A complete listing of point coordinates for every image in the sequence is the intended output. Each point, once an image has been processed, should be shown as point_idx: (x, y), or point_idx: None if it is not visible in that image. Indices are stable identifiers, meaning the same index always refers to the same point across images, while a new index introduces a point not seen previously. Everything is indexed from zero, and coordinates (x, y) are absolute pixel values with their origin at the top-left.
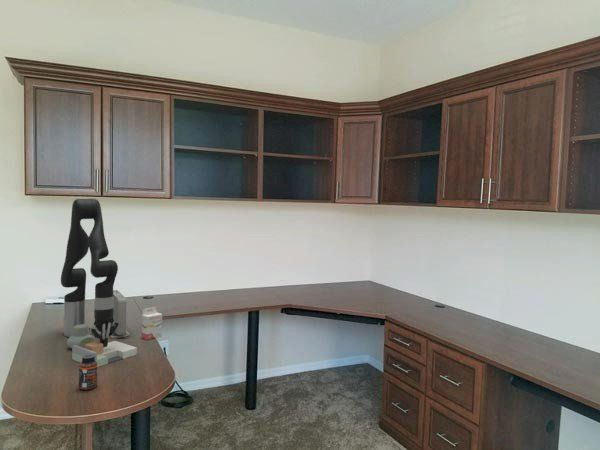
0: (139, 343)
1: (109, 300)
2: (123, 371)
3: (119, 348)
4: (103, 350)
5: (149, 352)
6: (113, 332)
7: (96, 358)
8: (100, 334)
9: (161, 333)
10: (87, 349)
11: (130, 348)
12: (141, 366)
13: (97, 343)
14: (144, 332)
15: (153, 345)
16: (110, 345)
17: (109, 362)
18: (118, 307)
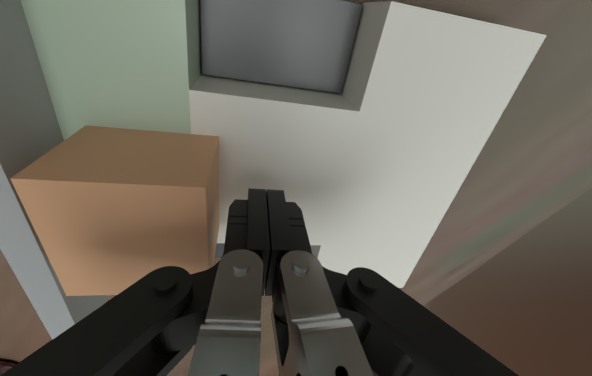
0: (588, 127)
1: None
2: (194, 345)
3: (355, 231)
4: (263, 180)
5: (429, 272)
6: (383, 348)
7: (101, 301)
8: (228, 313)
9: None
10: (33, 250)
11: (379, 273)
12: (272, 347)
13: (173, 250)
14: None
15: (541, 218)
16: (396, 120)
17: (216, 255)
18: None
